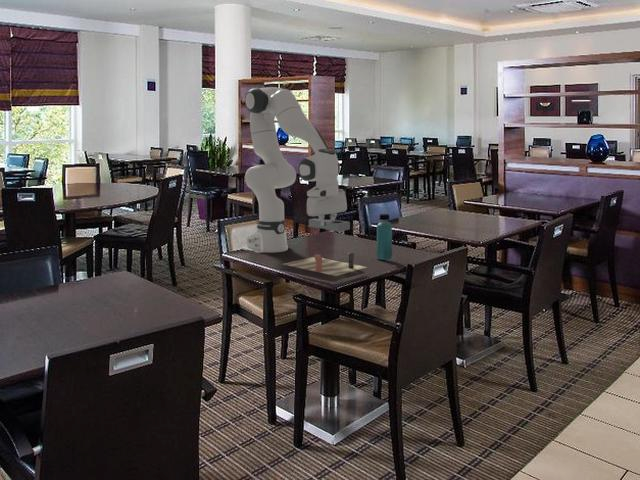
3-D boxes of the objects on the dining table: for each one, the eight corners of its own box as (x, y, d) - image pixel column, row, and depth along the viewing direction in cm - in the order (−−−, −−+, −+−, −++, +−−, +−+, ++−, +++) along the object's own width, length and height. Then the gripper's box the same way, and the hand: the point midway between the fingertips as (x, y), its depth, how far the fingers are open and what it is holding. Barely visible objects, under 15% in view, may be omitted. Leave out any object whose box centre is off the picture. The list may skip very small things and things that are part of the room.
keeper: (314, 267, 258) (314, 254, 257) (320, 266, 258) (320, 254, 257) (316, 271, 251) (316, 258, 250) (322, 271, 251) (322, 258, 250)
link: (305, 227, 265) (305, 219, 265) (317, 225, 270) (317, 217, 269) (338, 231, 253) (338, 224, 253) (349, 229, 258) (349, 221, 257)
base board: (282, 266, 263) (282, 264, 263) (314, 258, 277) (314, 256, 277) (335, 278, 244) (335, 275, 244) (367, 269, 257) (367, 267, 257)
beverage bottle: (391, 263, 267) (392, 215, 264) (375, 263, 269) (375, 215, 265) (392, 260, 274) (393, 213, 270) (377, 259, 275) (377, 212, 271)
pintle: (347, 268, 256) (347, 253, 255) (350, 267, 257) (350, 252, 256) (351, 268, 255) (351, 253, 253) (354, 267, 256) (354, 253, 255)
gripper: (338, 187, 268) (339, 221, 271) (303, 192, 254) (304, 227, 256) (350, 188, 264) (350, 222, 266) (315, 193, 249) (316, 229, 252)
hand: (327, 225), depth 261 cm, fingers closed on link, 3 cm apart
